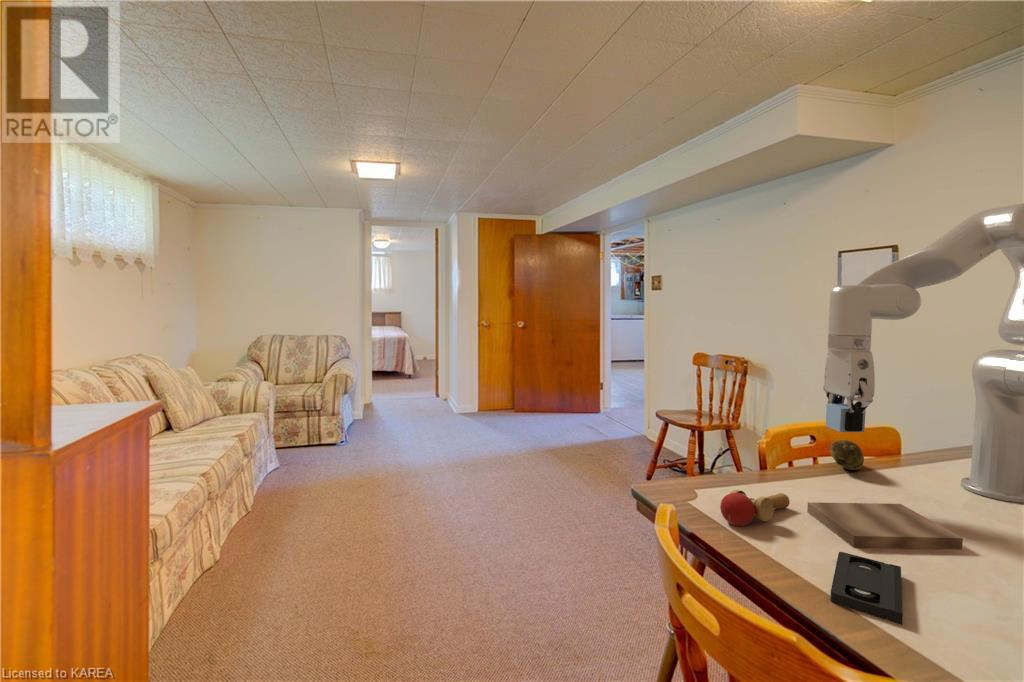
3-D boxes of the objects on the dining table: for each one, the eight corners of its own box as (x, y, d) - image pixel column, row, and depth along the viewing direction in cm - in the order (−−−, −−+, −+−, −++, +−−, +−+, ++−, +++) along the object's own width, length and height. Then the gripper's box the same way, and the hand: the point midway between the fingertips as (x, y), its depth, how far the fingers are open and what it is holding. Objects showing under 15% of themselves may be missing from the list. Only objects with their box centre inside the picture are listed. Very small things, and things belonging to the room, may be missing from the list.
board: (899, 513, 96) (900, 503, 96) (962, 549, 82) (962, 538, 82) (807, 512, 97) (807, 502, 97) (853, 547, 83) (853, 536, 83)
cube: (849, 426, 106) (850, 403, 106) (864, 432, 101) (865, 408, 101) (825, 425, 107) (826, 403, 106) (839, 431, 102) (840, 408, 101)
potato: (875, 468, 122) (876, 437, 122) (856, 479, 115) (858, 446, 114) (837, 459, 129) (839, 430, 128) (817, 470, 121) (819, 438, 121)
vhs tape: (838, 562, 79) (839, 550, 79) (900, 579, 74) (900, 566, 74) (829, 605, 68) (830, 591, 68) (901, 628, 63) (902, 613, 63)
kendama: (759, 505, 103) (705, 513, 94) (768, 478, 102) (714, 483, 93) (794, 526, 97) (740, 536, 88) (804, 497, 96) (750, 504, 87)
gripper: (897, 347, 94) (891, 438, 95) (841, 340, 111) (838, 418, 112) (857, 347, 94) (852, 438, 96) (808, 340, 111) (804, 417, 113)
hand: (844, 426), depth 104 cm, fingers closed on cube, 5 cm apart
